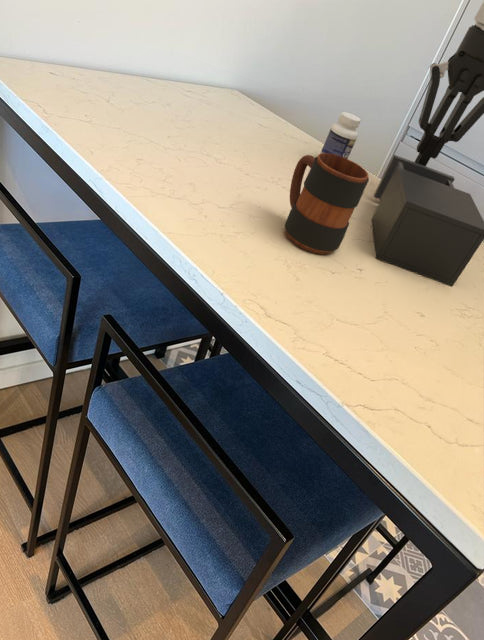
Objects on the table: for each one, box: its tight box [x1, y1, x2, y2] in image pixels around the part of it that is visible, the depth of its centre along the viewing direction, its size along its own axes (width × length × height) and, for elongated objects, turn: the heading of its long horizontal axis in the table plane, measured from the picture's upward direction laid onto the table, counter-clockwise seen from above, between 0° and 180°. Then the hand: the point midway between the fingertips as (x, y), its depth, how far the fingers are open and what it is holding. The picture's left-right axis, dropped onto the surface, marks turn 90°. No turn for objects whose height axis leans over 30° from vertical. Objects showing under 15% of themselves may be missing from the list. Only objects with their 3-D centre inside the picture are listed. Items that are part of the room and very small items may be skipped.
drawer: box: [373, 154, 455, 203], centre depth 100 cm, size 18×11×8 cm, turn 170°
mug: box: [284, 152, 370, 255], centre depth 81 cm, size 9×12×12 cm
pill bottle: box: [319, 111, 362, 160], centre depth 111 cm, size 5×5×10 cm
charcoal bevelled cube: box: [370, 167, 484, 287], centre depth 89 cm, size 15×13×10 cm
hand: (415, 171), depth 104 cm, fingers closed
